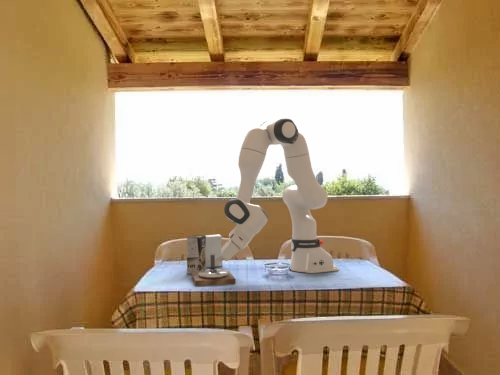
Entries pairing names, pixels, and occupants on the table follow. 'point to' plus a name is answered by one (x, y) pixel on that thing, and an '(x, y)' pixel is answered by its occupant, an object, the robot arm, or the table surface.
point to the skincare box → (213, 248)
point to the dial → (213, 271)
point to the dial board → (213, 280)
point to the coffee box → (196, 254)
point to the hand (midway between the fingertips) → (216, 263)
